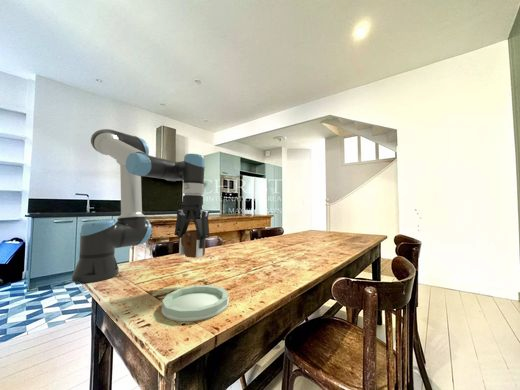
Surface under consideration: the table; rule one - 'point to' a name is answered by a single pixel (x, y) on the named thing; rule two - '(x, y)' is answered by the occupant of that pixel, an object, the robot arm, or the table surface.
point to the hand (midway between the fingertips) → (190, 255)
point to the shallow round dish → (195, 303)
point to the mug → (190, 243)
